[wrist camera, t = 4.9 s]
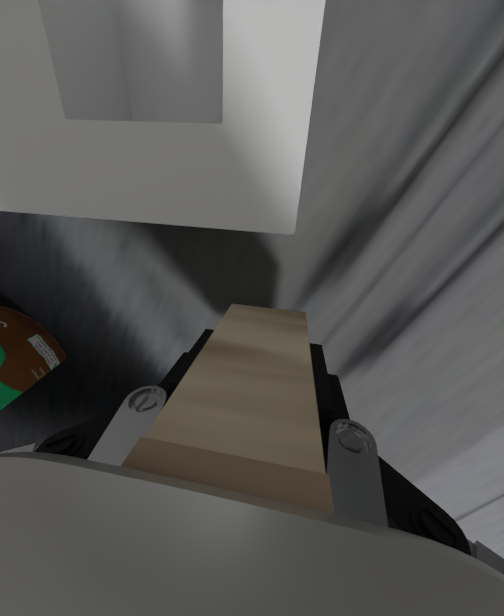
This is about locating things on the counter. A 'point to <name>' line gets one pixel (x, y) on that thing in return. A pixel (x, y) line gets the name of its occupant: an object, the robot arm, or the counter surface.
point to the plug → (245, 414)
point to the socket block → (157, 109)
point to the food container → (24, 354)
